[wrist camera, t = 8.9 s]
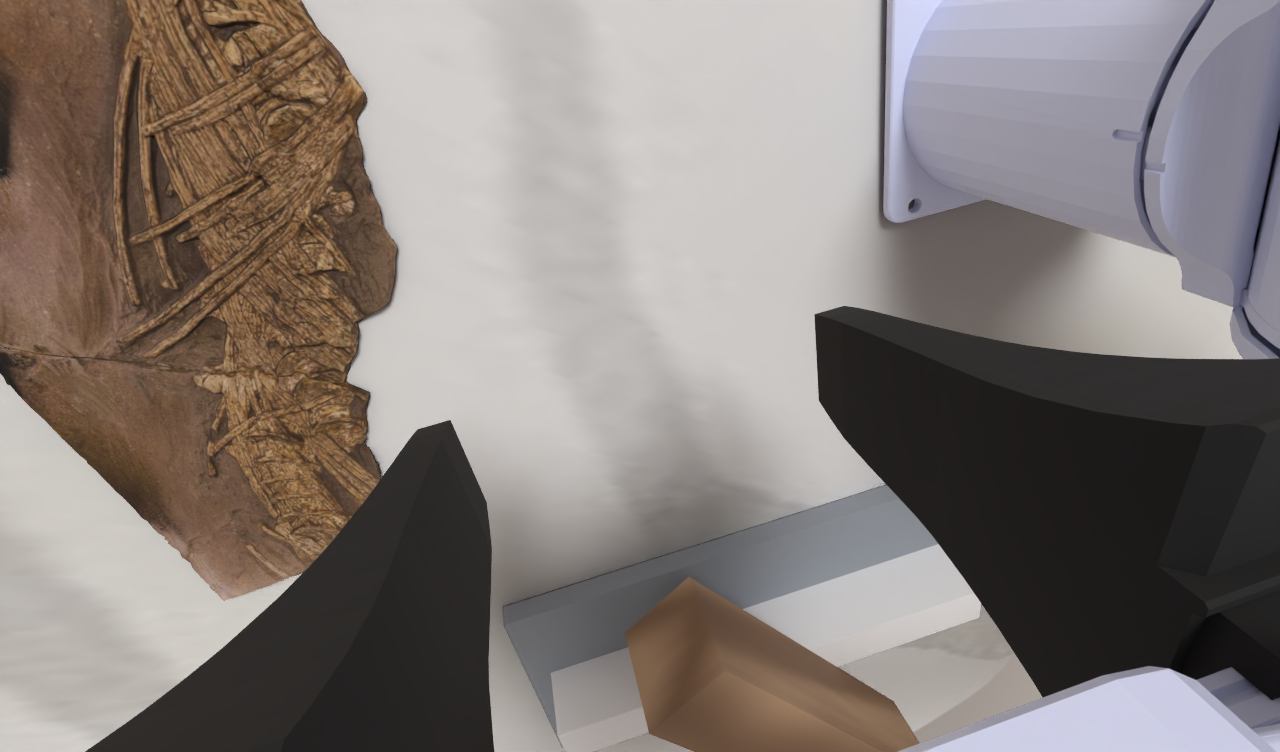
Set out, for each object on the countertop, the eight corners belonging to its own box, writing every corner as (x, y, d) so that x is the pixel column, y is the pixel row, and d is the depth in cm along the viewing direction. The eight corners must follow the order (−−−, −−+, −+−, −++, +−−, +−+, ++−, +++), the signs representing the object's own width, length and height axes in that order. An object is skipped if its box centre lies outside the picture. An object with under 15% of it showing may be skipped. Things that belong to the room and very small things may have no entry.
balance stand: (951, 464, 29) (1014, 520, 26) (938, 599, 34) (989, 661, 31) (503, 606, 27) (506, 688, 23) (560, 729, 32) (569, 811, 29)
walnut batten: (689, 576, 23) (725, 670, 19) (893, 701, 30) (945, 784, 27) (624, 633, 23) (649, 733, 20) (840, 741, 31) (884, 827, 28)
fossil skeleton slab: (395, 583, 25) (392, 603, 24) (76, 594, 22) (58, 617, 21) (400, -226, 14) (394, -245, 13) (-238, -425, 11) (-303, -468, 10)
